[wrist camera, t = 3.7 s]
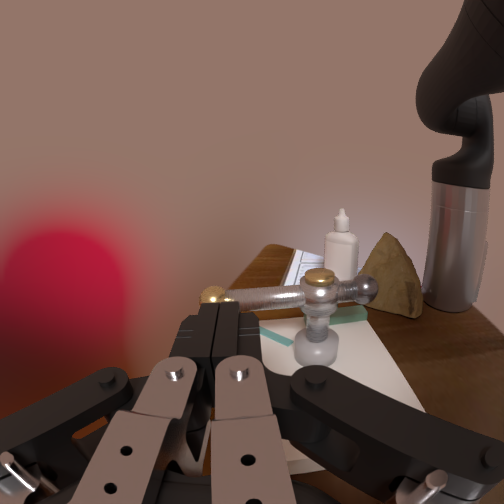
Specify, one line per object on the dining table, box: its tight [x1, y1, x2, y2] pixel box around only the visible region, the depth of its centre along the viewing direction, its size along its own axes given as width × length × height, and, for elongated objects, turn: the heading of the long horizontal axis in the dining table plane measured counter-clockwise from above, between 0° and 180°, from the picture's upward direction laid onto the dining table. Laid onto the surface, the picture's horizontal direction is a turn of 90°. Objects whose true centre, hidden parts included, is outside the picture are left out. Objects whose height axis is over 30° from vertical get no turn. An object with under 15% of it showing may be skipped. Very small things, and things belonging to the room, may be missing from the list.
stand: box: [259, 305, 426, 475], centre depth 22 cm, size 14×18×5 cm
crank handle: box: [199, 268, 379, 342], centre depth 23 cm, size 15×3×6 cm, turn 91°
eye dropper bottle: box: [324, 209, 359, 281], centre depth 43 cm, size 4×6×12 cm
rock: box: [358, 232, 423, 318], centre depth 34 cm, size 11×9×10 cm
